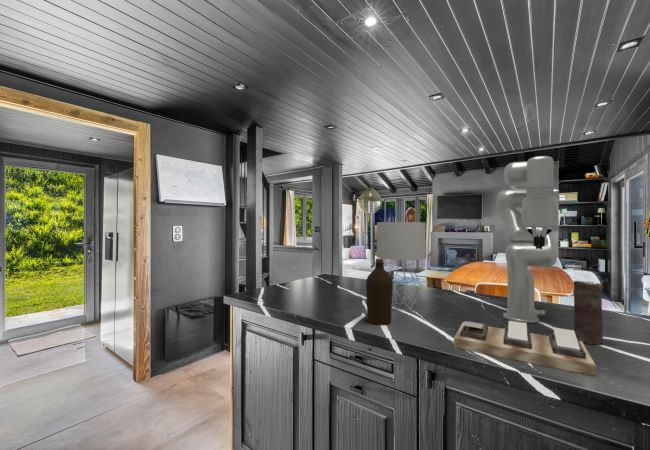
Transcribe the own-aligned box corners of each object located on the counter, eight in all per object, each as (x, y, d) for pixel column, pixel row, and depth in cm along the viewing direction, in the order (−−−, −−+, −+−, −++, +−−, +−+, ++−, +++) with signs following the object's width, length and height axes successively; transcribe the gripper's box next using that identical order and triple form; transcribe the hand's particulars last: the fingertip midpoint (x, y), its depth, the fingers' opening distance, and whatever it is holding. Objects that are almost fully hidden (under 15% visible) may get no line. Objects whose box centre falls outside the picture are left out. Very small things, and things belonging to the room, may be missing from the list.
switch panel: (582, 351, 95) (582, 336, 95) (595, 376, 79) (595, 358, 79) (462, 330, 113) (463, 318, 113) (453, 347, 97) (454, 333, 97)
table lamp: (392, 298, 162) (393, 222, 162) (433, 306, 146) (433, 222, 147) (366, 306, 146) (367, 222, 146) (409, 316, 130) (410, 222, 131)
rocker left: (484, 328, 106) (484, 324, 106) (481, 328, 97) (482, 323, 97) (468, 326, 108) (469, 321, 109) (464, 325, 99) (464, 321, 100)
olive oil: (373, 327, 116) (374, 260, 116) (361, 318, 126) (361, 257, 126) (397, 324, 120) (398, 260, 120) (383, 316, 130) (384, 257, 130)
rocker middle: (526, 327, 99) (526, 323, 99) (527, 345, 90) (527, 340, 90) (508, 324, 102) (508, 320, 102) (507, 341, 93) (507, 337, 93)
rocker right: (573, 334, 93) (574, 330, 93) (580, 354, 84) (580, 349, 84) (553, 331, 96) (553, 327, 96) (557, 350, 87) (557, 345, 86)
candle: (567, 337, 107) (568, 279, 107) (587, 336, 108) (587, 279, 108) (588, 345, 100) (588, 284, 100) (609, 345, 100) (609, 283, 100)
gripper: (566, 194, 103) (565, 249, 102) (513, 196, 110) (513, 247, 110) (569, 191, 96) (568, 250, 96) (513, 194, 104) (512, 248, 104)
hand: (539, 248), depth 103 cm, fingers closed
